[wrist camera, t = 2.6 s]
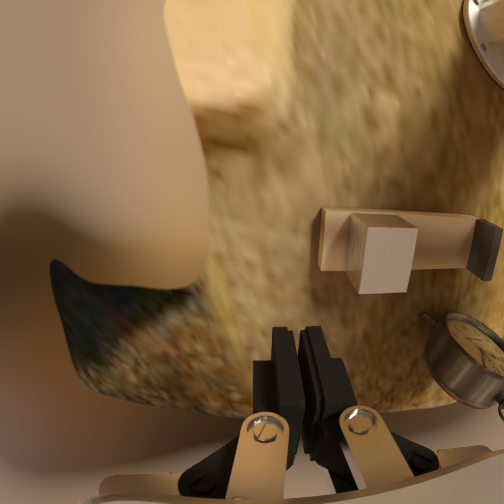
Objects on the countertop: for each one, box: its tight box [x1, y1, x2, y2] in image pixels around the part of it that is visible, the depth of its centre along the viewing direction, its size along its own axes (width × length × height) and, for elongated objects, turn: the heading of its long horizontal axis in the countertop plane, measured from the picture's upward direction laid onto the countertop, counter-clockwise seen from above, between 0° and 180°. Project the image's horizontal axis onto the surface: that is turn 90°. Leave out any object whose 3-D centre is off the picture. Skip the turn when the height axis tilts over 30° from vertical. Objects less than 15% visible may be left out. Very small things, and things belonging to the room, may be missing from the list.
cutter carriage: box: [345, 213, 418, 294], centre depth 22 cm, size 5×5×4 cm
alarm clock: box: [421, 312, 504, 421], centre depth 22 cm, size 11×5×16 cm, turn 73°
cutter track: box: [318, 207, 503, 281], centre depth 24 cm, size 5×17×4 cm, turn 90°
